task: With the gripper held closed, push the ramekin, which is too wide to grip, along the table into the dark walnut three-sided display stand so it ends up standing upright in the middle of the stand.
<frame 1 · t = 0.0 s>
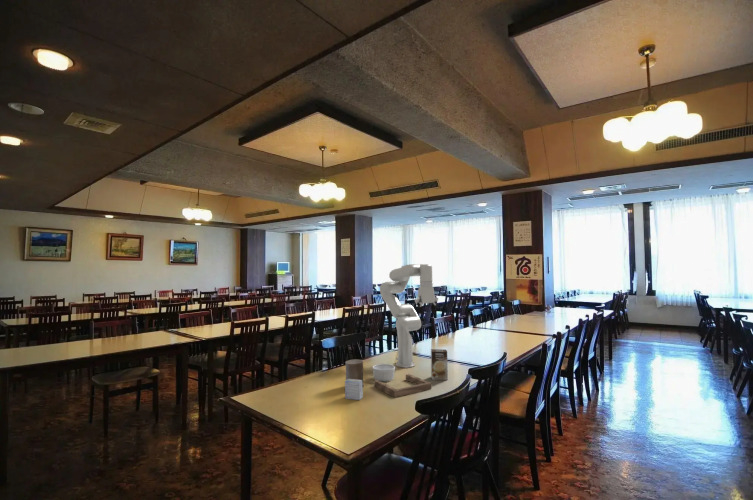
hand: (426, 312, 217), 37 cm above the table, tool pointing down, fingers open, 9 cm apart
pillar candle: (354, 387, 194), on the table
display stand: (402, 387, 192), on the table
coffee box: (439, 378, 207), on the table
ramekin: (383, 379, 208), on the table
medicine box: (354, 398, 177), on the table
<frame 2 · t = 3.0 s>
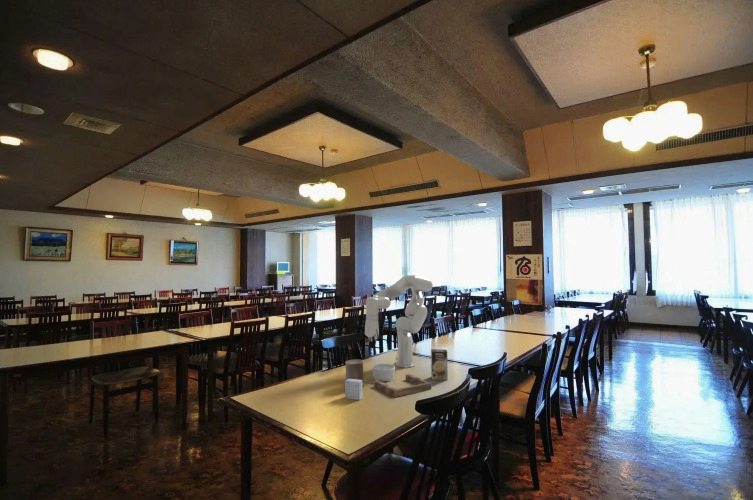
hand: (372, 347, 219), 16 cm above the table, tool pointing down, fingers closed
nothing on the table moved.
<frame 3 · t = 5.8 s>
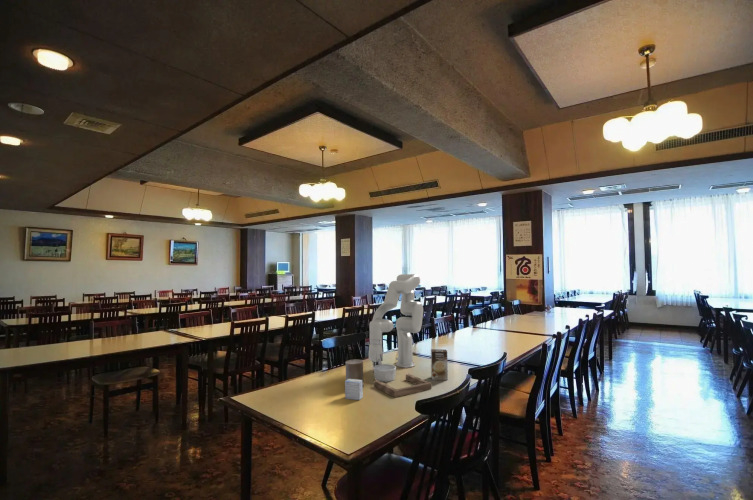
hand: (376, 372, 215), 2 cm above the table, tool pointing down, fingers closed
ramekin: (384, 379, 207), on the table, touching gripper
everything else where it was.
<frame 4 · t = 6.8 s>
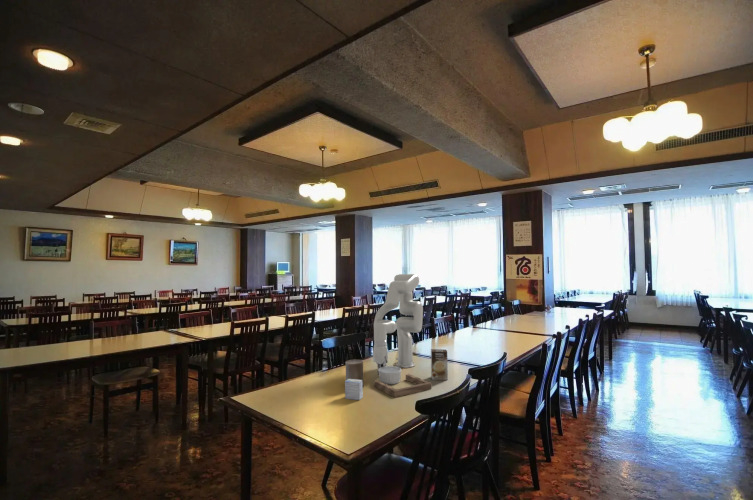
hand: (381, 374, 210), 2 cm above the table, tool pointing down, fingers closed
ramekin: (389, 381, 202), on the table, touching gripper
everything else where it was.
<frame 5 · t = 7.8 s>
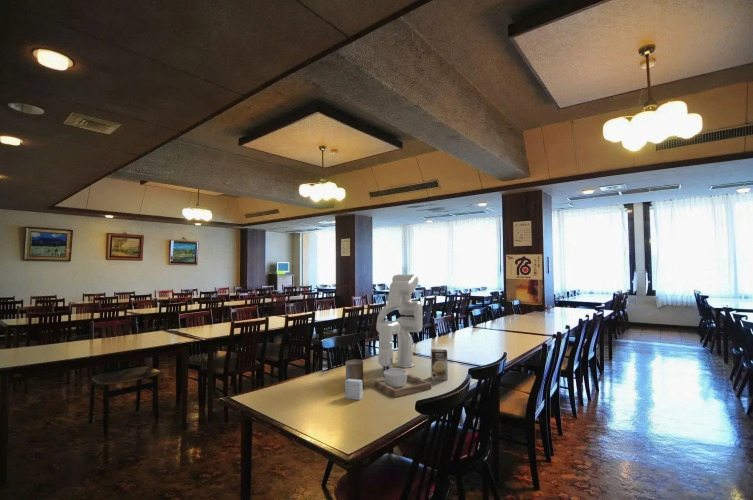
hand: (386, 377, 205), 2 cm above the table, tool pointing down, fingers closed
ramekin: (395, 384, 197), on the table, touching gripper
everything else where it was.
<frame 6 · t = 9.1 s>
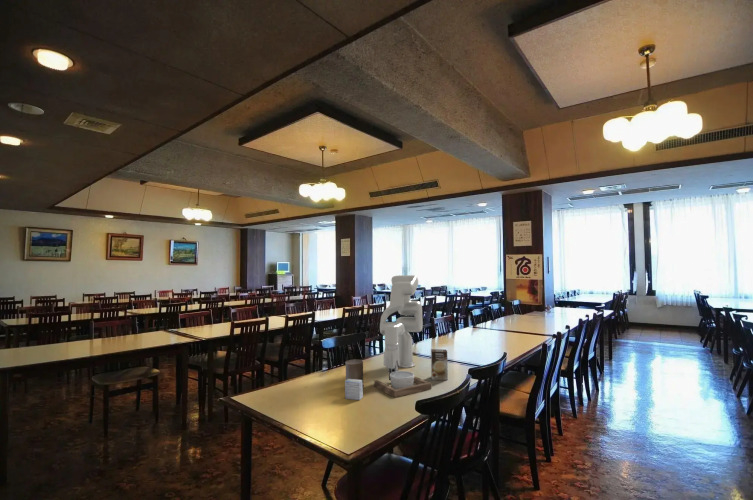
hand: (392, 379, 200), 2 cm above the table, tool pointing down, fingers closed
ramekin: (402, 387, 192), on the table, touching gripper
everything else where it was.
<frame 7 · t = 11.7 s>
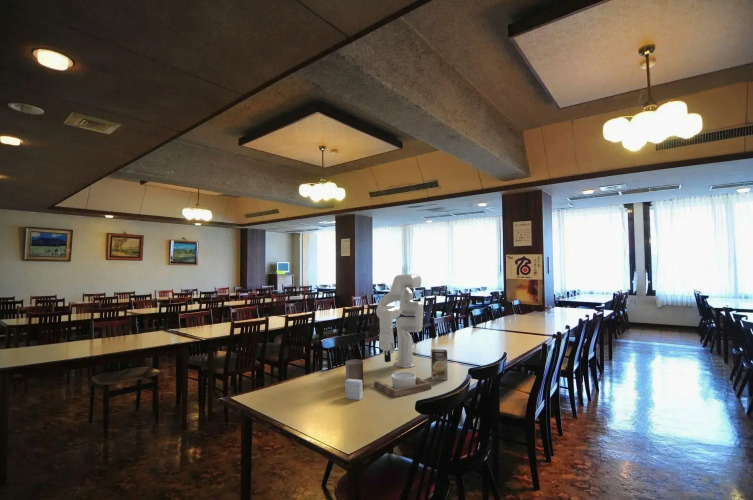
hand: (387, 361, 207), 10 cm above the table, tool pointing down, fingers closed
ramekin: (403, 388, 191), on the table
everything else where it was.
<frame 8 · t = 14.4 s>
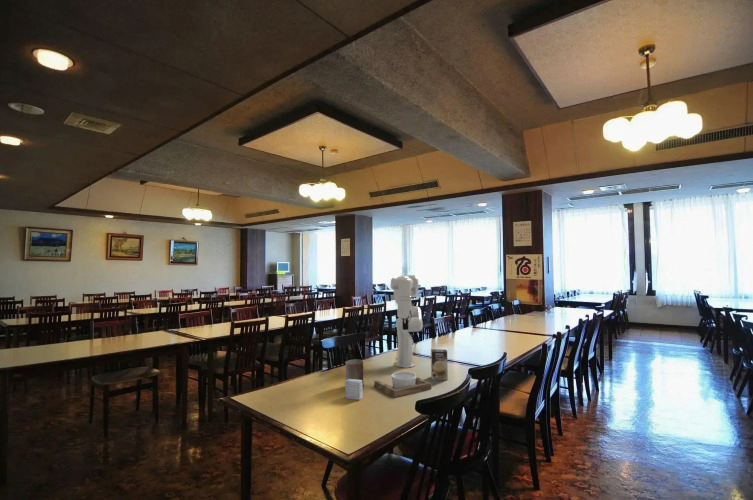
hand: (405, 329, 216), 27 cm above the table, tool pointing down, fingers closed
nothing on the table moved.
at the end: ramekin inside the target area on the display stand (1.5 cm from its centre), point 0.0 cm above the display stand's base; ramekin tilted 0° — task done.
